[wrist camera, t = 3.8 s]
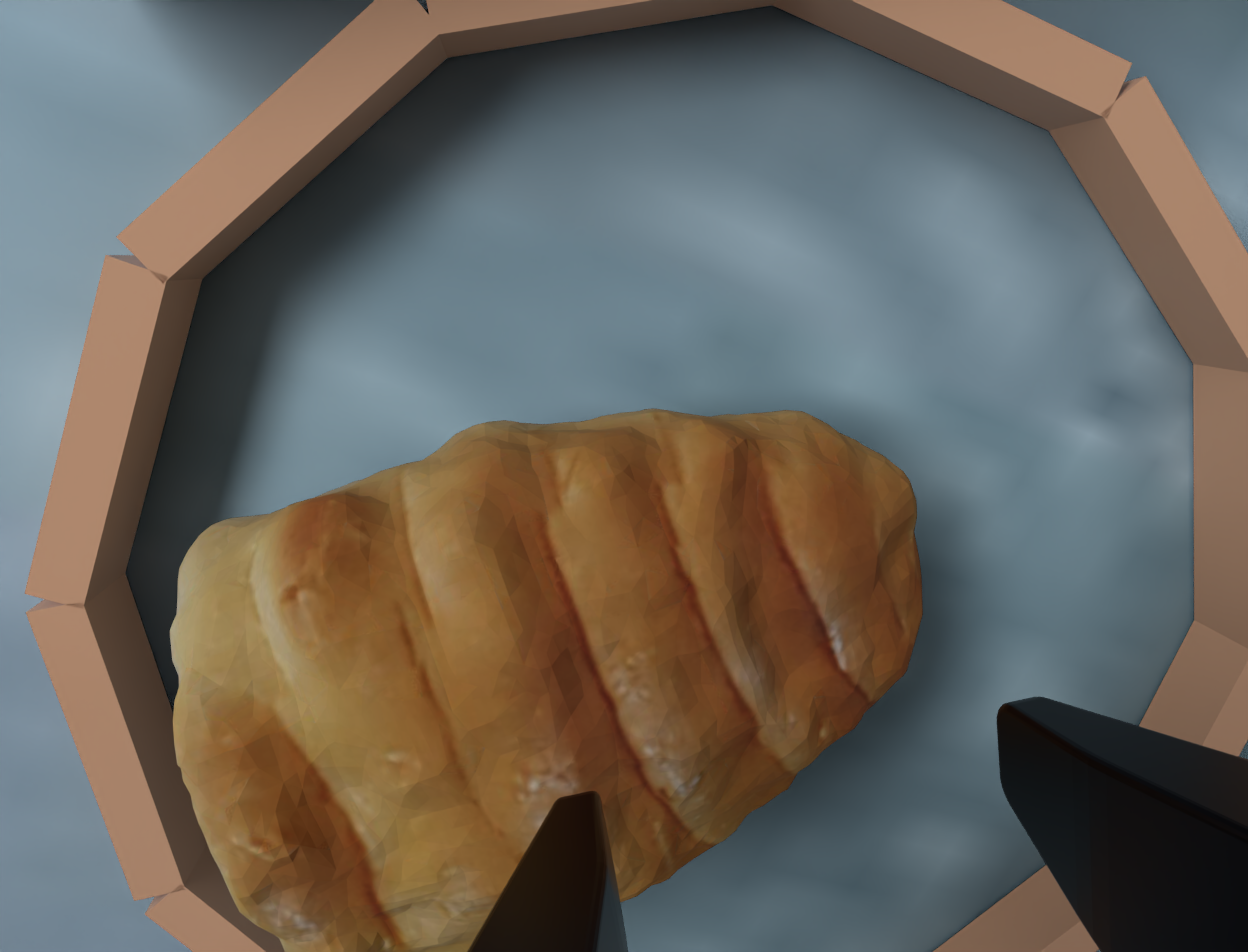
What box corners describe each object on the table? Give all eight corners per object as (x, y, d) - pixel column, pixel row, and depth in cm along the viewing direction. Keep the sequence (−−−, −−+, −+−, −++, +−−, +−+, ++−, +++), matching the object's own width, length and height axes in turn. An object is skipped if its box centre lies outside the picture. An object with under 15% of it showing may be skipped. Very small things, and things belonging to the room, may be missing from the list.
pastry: (806, 283, 12) (925, 278, 8) (938, 695, 14) (1089, 843, 10) (174, 530, 12) (13, 635, 8) (378, 919, 14) (320, 1155, 10)
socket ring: (1230, 935, 16) (1286, 988, 15) (282, 1165, 15) (262, 1240, 14) (1240, -129, 12) (1319, -172, 11) (-105, 82, 11) (-182, 61, 9)
